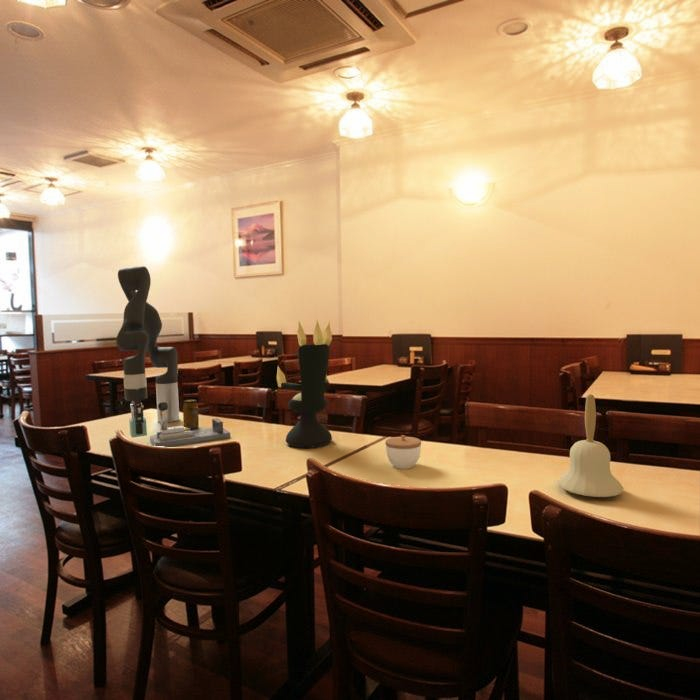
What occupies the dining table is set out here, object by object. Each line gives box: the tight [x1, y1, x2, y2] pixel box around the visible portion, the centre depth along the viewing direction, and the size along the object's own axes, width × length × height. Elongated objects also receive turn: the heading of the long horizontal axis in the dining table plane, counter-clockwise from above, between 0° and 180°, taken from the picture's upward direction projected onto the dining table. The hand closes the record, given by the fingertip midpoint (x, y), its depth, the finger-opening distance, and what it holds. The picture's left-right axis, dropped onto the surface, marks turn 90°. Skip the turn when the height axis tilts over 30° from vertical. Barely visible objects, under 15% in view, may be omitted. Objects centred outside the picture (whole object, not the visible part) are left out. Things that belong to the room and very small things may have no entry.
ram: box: [158, 401, 188, 435], centre depth 188 cm, size 4×10×13 cm, turn 120°
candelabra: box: [276, 319, 333, 449], centre depth 179 cm, size 19×22×45 cm
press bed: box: [149, 418, 231, 448], centre depth 191 cm, size 13×27×6 cm, turn 120°
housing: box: [129, 416, 148, 438], centre depth 182 cm, size 5×5×6 cm
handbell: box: [556, 393, 625, 498], centre depth 127 cm, size 15×15×25 cm
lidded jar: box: [385, 434, 422, 470], centre depth 153 cm, size 11×11×9 cm
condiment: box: [182, 399, 204, 430], centre depth 209 cm, size 7×8×12 cm
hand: (138, 432), depth 182 cm, fingers closed on housing, 5 cm apart
